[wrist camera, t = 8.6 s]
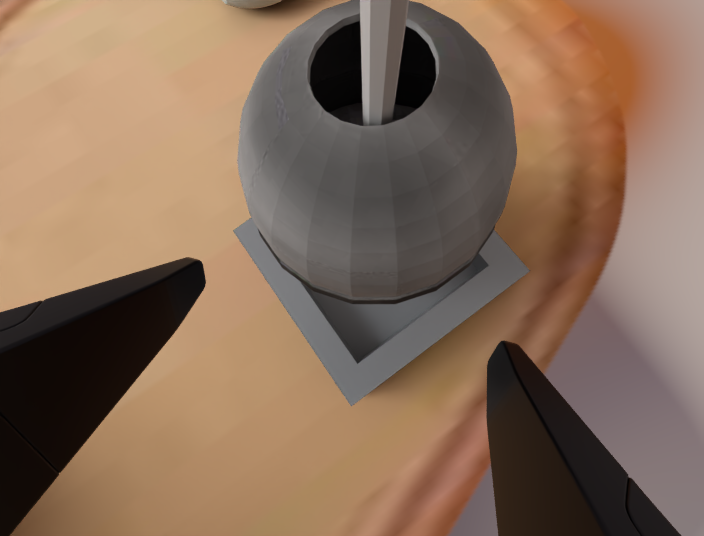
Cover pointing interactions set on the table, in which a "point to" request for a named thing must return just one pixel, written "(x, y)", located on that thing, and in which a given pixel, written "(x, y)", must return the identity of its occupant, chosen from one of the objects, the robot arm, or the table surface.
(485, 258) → the tray
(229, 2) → the air freshener
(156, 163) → the table surface
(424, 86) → the beverage cup
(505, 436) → the robot arm
